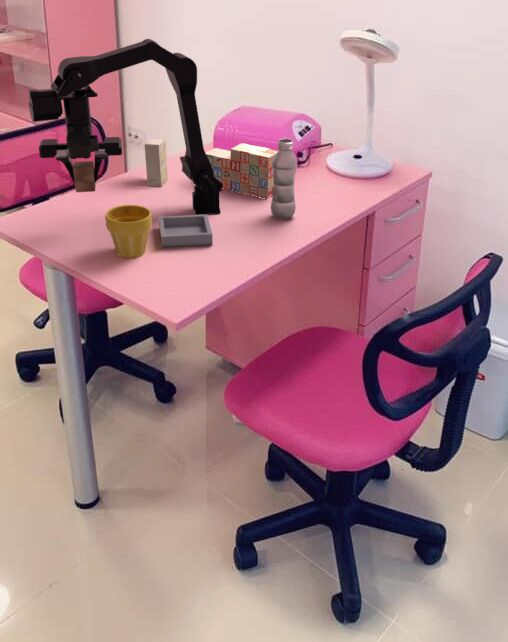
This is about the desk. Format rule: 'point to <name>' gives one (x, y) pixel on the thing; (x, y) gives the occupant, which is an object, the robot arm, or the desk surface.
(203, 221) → the tray
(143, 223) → the plant pot
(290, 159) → the plastic bottle
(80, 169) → the walnut block
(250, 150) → the stack of blocks
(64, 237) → the desk surface
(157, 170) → the skincare box
